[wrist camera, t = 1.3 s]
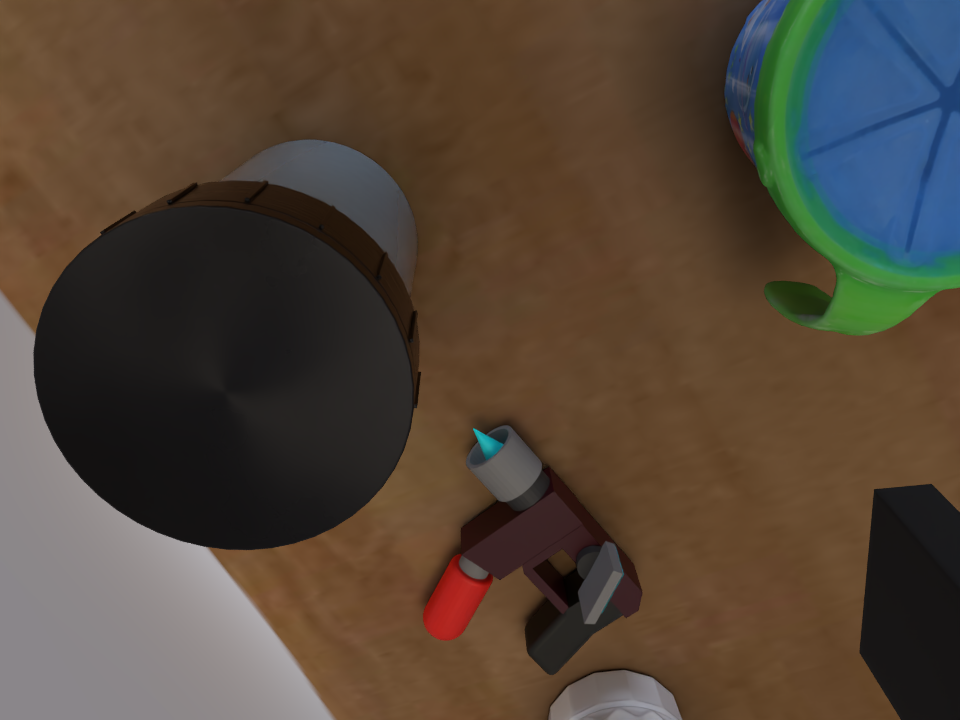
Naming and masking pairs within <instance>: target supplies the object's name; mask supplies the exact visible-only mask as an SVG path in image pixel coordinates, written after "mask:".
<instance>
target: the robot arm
mask: <svg viewBox="0 0 960 720" xmlns="http://www.w3.org/2000/svg"><path fill="white" fill-rule="evenodd" d="M860 654H861V656H862V657H863V659H864V661H865V662H866V664H867V665H868V667H869V669H870V670H871V672H872V674H873V675H874V677H875V678H876V680H877V682H878V683H879V685H880V686H881V688H882V690H883V691H884V693H885V695H886V696H887V698H888V699H889V701H890V703H891V704H892V706H893V707H894V709H895V711H896V712H897V714H898V716H899V717H900V719H901V720H960V512H959V511H958V510H957V509H956V508H955V507H954V506H953V505H952V504H951V503H950V502H949V501H948V500H947V499H946V498H945V497H944V496H943V495H942V494H941V493H940V492H939V491H938V490H937V489H936V488H935V487H934V486H933V485H932V484H927V485H916V486H905V487H895V488H884V489H874V497H873V508H872V519H871V531H870V542H869V553H868V564H867V575H866V586H865V597H864V608H863V619H862V630H861V642H860Z"/></svg>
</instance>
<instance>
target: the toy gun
mask: <svg viewBox="0 0 960 720" xmlns="http://www.w3.org/2000/svg"><path fill="white" fill-rule="evenodd" d="M473 430H474V432H475V434H476V437H477V439H478V442H477V443H476V444H475V446H474V447H473V448H472V450H471V451H470V453H469V454H468V456H467V459H466V466H467V467H468V468H469V469H470V470H471V471H472V472H473V473H474V475H475V476H476V477H477V478H478V479H479V480H480V481H481V482H482V483H483V484H484V485H485V486H486V488H487V489H488V490H489V491H490V492H491V493H492V494H493V495H494V496H495V497H496V498H497V499H498V500H499V502H498V503H496V504H495V505H494V506H492V507H491V508H489V509H488V510H486V511H485V512H484V513H482V514H481V515H479V516H478V517H476V518H475V519H473V520H472V521H471V522H469V523H468V524H466V525H465V526H463V527H462V528H461V554H458V555H455V556H454V557H453V558H452V560H451V561H450V563H449V565H448V567H447V569H446V570H445V572H444V574H443V576H442V578H441V579H440V581H439V583H438V585H437V587H436V589H435V590H434V592H433V594H432V596H431V598H430V599H429V601H428V603H427V605H426V607H425V609H424V613H423V621H424V625H425V627H426V629H427V631H428V632H429V633H430V634H431V635H432V636H433V637H435V638H437V639H440V640H452V639H455V638H457V637H458V636H460V635H461V634H462V633H463V631H464V630H465V628H466V627H467V625H468V623H469V621H470V620H471V618H472V616H473V614H474V613H475V611H476V609H477V608H478V606H479V604H480V602H481V601H482V599H483V597H484V595H485V594H486V592H487V590H488V589H489V587H490V585H491V583H492V581H493V576H494V577H496V578H497V579H499V580H501V579H502V578H504V577H505V576H507V575H508V574H510V573H511V572H513V571H514V570H516V569H517V568H519V567H520V566H522V565H523V571H524V574H525V575H526V576H527V577H528V578H529V579H530V580H531V581H532V582H533V583H534V585H535V586H536V587H537V588H538V589H539V590H540V591H541V592H542V593H543V594H544V595H545V596H546V597H547V598H548V599H549V600H548V601H547V602H546V603H545V604H544V605H543V606H542V607H541V609H540V610H539V611H538V612H537V613H536V614H535V615H534V616H533V617H532V618H531V619H530V621H529V622H528V623H527V624H526V627H525V638H526V647H527V652H528V654H529V656H530V657H531V658H532V659H533V660H534V661H535V662H536V663H537V664H538V665H539V666H540V667H541V668H542V669H543V670H544V671H545V672H546V673H547V674H549V675H554V674H556V673H557V672H558V671H559V670H560V669H561V667H562V666H563V665H564V664H565V663H566V662H567V661H568V660H569V659H570V658H571V657H572V656H573V655H574V654H575V653H576V652H577V651H578V650H579V649H580V648H581V647H582V646H583V645H584V643H585V642H586V641H587V640H588V639H589V638H590V637H591V636H592V635H593V634H594V633H596V632H597V631H599V630H601V629H602V628H604V627H605V626H607V625H608V624H610V623H612V622H613V621H615V620H616V619H618V618H619V617H621V616H623V615H624V616H625V617H626V618H627V617H629V616H630V615H632V614H633V613H635V612H637V611H638V610H639V606H640V601H641V597H642V589H641V586H640V583H639V580H638V576H637V573H636V570H635V567H634V564H633V563H632V562H631V561H630V559H629V558H628V557H627V556H626V555H625V554H624V553H623V552H622V550H621V549H620V548H619V547H618V546H617V545H616V544H615V542H614V541H613V540H612V539H611V538H610V537H609V536H608V534H607V533H606V532H605V531H604V530H603V529H602V528H601V527H600V525H599V524H598V523H597V522H596V521H595V520H594V519H593V517H592V516H591V515H590V514H589V513H588V512H587V511H586V510H585V508H584V507H583V506H582V505H581V504H580V503H579V502H578V500H577V498H576V497H575V495H574V494H573V493H572V492H571V491H570V490H569V489H568V487H567V486H566V485H565V484H564V483H563V482H562V481H561V479H560V478H559V477H558V476H557V475H556V474H555V473H554V472H553V470H552V469H551V468H550V467H548V468H547V469H545V470H544V471H543V470H542V463H541V461H540V460H539V458H538V457H537V456H536V455H535V454H534V453H533V452H532V451H531V449H530V448H529V447H528V446H527V445H526V444H525V443H524V442H523V440H522V439H521V438H520V437H519V436H518V435H517V434H516V432H515V431H514V430H513V429H512V428H511V427H510V426H508V425H504V426H500V427H497V428H495V429H494V430H492V431H490V432H489V433H487V434H486V435H485V434H483V433H482V432H480V431H478V430H476V429H474V428H473ZM561 549H563V550H564V551H565V552H566V553H567V554H568V555H569V556H570V557H571V558H572V559H573V561H574V562H575V563H576V566H577V571H576V572H574V573H573V574H571V575H570V576H568V577H567V578H565V579H563V578H562V577H561V575H560V574H559V573H558V572H557V571H556V570H555V569H554V568H553V567H552V566H551V565H550V564H549V563H548V561H547V560H546V559H548V558H549V557H551V556H552V555H554V554H555V553H557V552H558V551H560V550H561Z"/></svg>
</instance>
